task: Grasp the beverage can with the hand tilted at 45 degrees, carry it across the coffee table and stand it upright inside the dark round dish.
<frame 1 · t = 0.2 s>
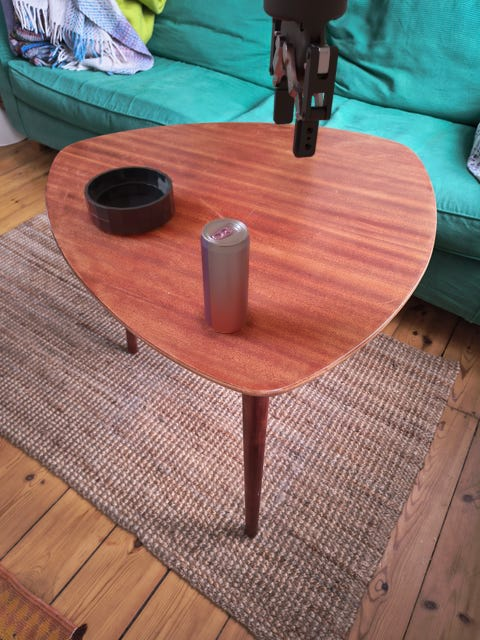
hand: (292, 138, 51), 25 cm above the table, tool pointing down, fingers open, 8 cm apart
dark round dish: (133, 213, 85), on the table
beverage can: (226, 321, 66), on the table
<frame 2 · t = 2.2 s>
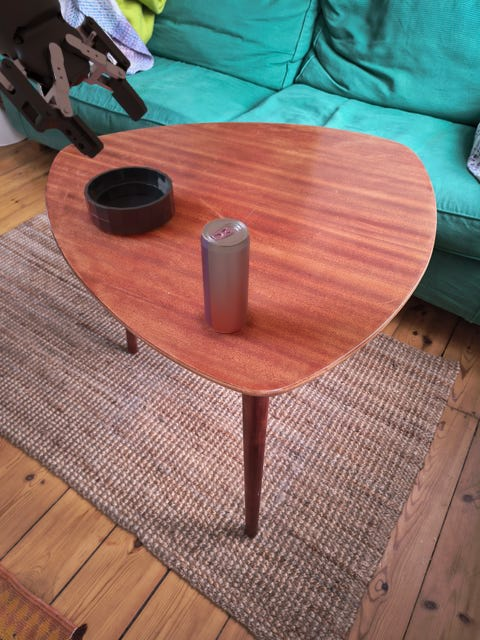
hand: (121, 133, 49), 26 cm above the table, tool tilted 40°, fingers open, 8 cm apart
nothing on the table moved.
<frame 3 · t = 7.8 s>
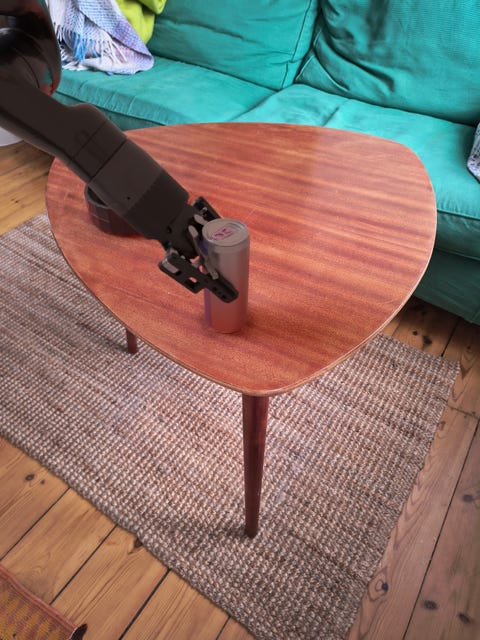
hand: (238, 282, 61), 7 cm above the table, tool tilted 45°, fingers closed on beverage can, 6 cm apart
beverage can: (226, 321, 66), on the table, touching gripper
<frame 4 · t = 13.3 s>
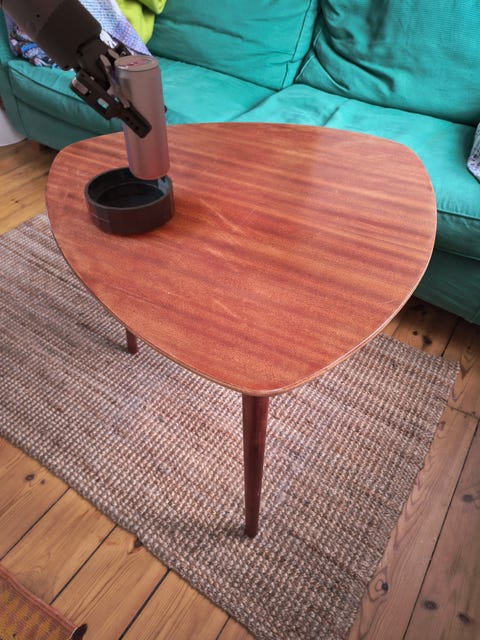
hand: (155, 123, 65), 20 cm above the table, tool tilted 45°, fingers closed on beverage can, 6 cm apart
beverage can: (150, 172, 70), point 13 cm above the table, touching gripper
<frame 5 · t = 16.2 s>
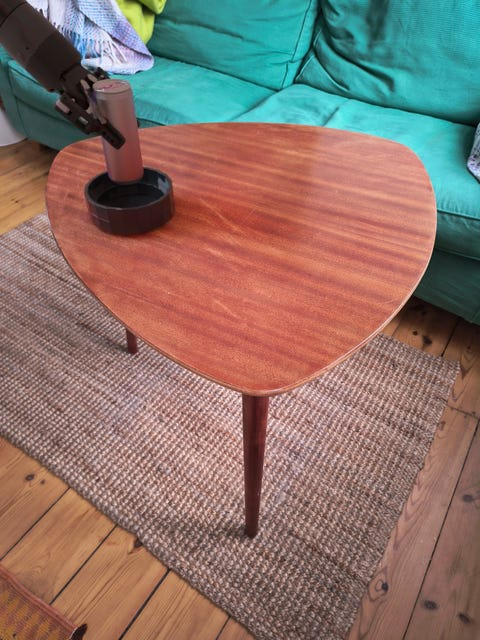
hand: (129, 136, 75), 14 cm above the table, tool tilted 45°, fingers closed on beverage can, 6 cm apart
beverage can: (127, 178, 81), point 7 cm above the table, touching gripper
when the fingers open (8 cm above the table, at t = 18.6 s): beverage can stays where it is, resting on dark round dish.
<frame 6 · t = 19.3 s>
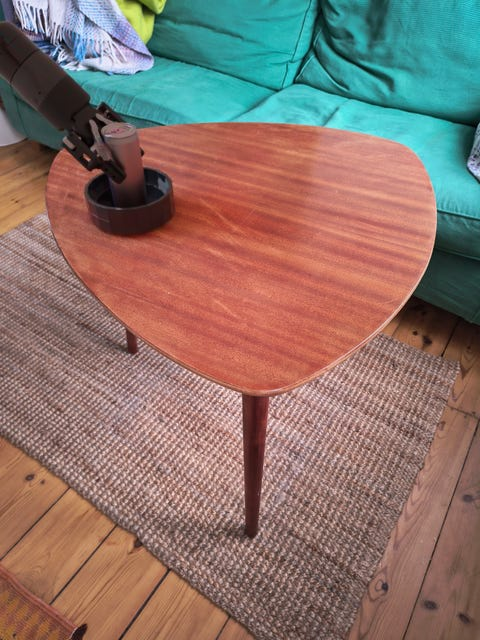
hand: (132, 168, 79), 9 cm above the table, tool tilted 45°, fingers open, 8 cm apart
beverage can: (132, 212, 85), resting on dark round dish
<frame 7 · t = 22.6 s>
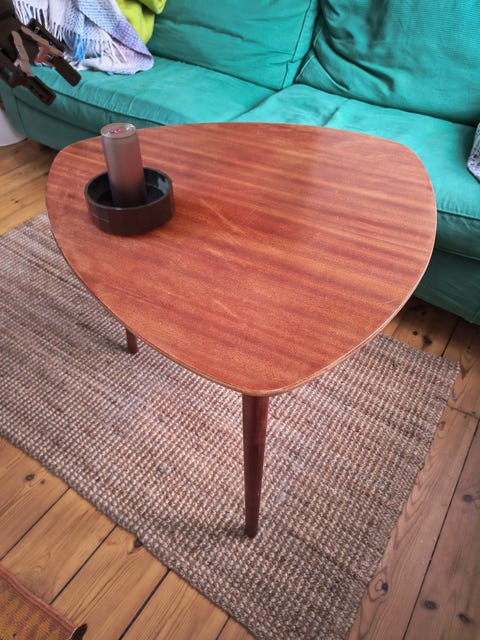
hand: (66, 91, 72), 21 cm above the table, tool tilted 45°, fingers open, 8 cm apart
nothing on the table moved.
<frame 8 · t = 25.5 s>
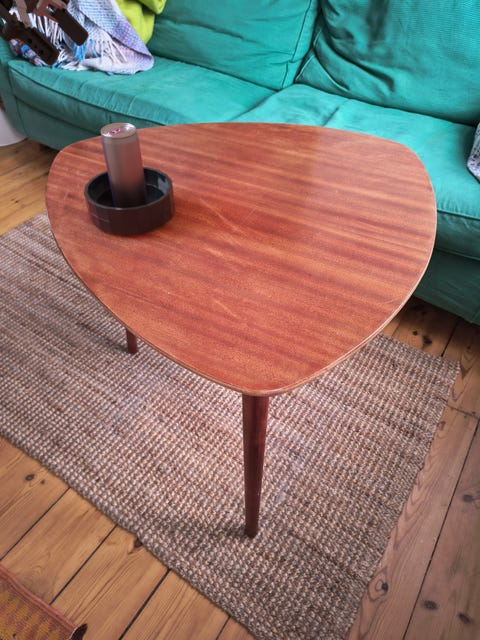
hand: (71, 50, 60), 29 cm above the table, tool tilted 45°, fingers open, 8 cm apart
nothing on the table moved.
at the end: beverage can inside the target area in the dark round dish (0.1 cm from its centre), point 0.3 cm above the dark round dish's base; beverage can tilted 0°; the gripper is holding nothing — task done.
